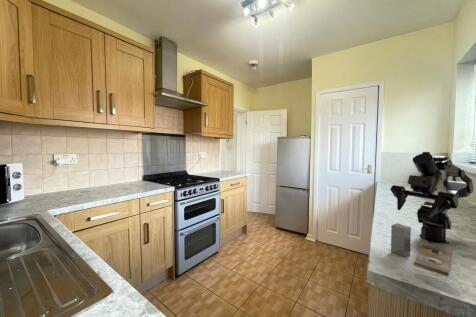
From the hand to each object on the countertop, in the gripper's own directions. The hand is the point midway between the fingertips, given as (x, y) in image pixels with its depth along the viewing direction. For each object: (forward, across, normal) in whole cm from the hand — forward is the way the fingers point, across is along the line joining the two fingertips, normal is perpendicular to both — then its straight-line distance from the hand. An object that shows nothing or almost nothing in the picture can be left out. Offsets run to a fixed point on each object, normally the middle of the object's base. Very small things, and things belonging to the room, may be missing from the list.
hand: (412, 213), depth 73 cm
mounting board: (+11, +7, +8) cm, 15 cm away
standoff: (+15, 0, +4) cm, 16 cm away
